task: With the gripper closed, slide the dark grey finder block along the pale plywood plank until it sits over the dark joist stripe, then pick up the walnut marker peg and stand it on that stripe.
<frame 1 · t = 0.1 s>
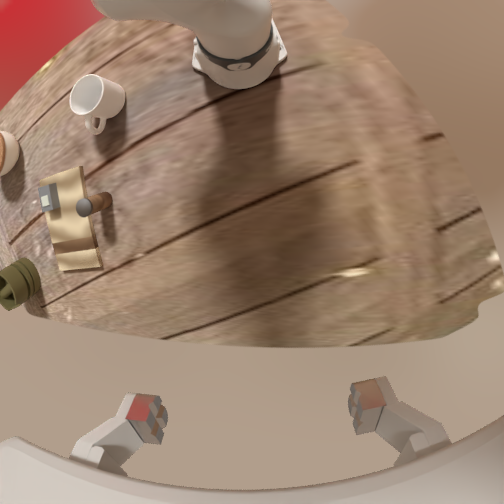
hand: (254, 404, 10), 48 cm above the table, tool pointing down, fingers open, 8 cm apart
finder: (52, 196, 54), point 1 cm above the table, touching plank
marker peg: (105, 199, 56), on the table
lidded bowl: (13, 152, 51), on the table
piston: (28, 275, 63), on the table
mug: (109, 109, 49), on the table
plank: (70, 220, 57), on the table
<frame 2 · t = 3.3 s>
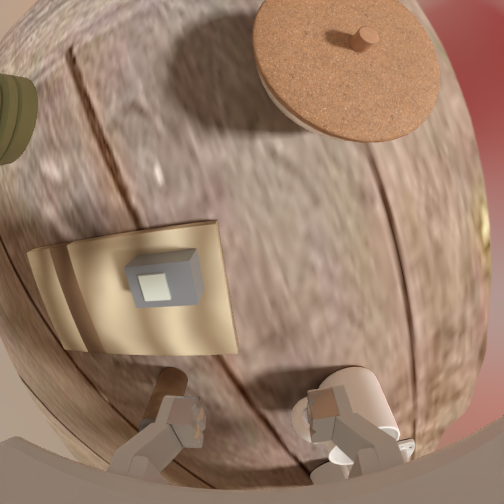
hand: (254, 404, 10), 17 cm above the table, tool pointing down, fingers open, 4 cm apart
finder: (170, 272, 25), point 1 cm above the table, touching plank
marker peg: (174, 377, 32), on the table
lidded bowl: (324, 80, 21), on the table
piston: (11, 120, 21), on the table
mug: (332, 386, 32), on the table
plank: (122, 296, 28), on the table
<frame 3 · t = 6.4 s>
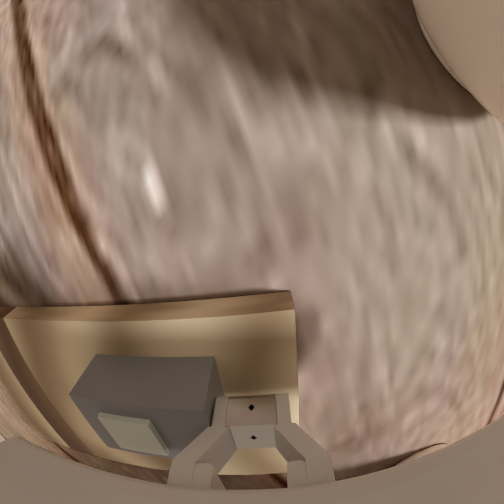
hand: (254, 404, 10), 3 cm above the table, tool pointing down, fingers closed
finder: (162, 387, 12), point 1 cm above the table, touching gripper, plank
lidded bowl: (467, 39, 7), on the table
plank: (106, 398, 15), on the table
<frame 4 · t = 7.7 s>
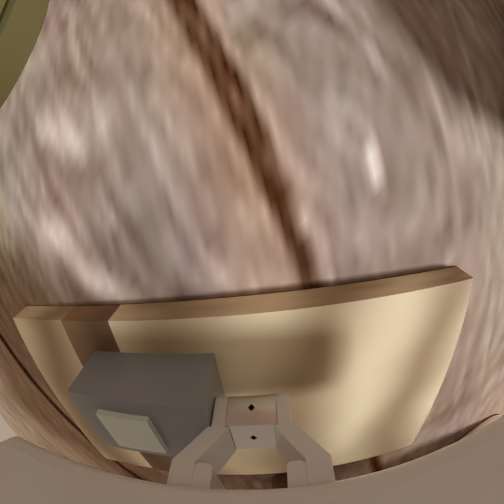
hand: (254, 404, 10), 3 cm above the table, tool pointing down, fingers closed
finder: (161, 384, 12), point 1 cm above the table, touching gripper, plank
marker peg: (292, 478, 18), on the table
plank: (236, 404, 14), on the table
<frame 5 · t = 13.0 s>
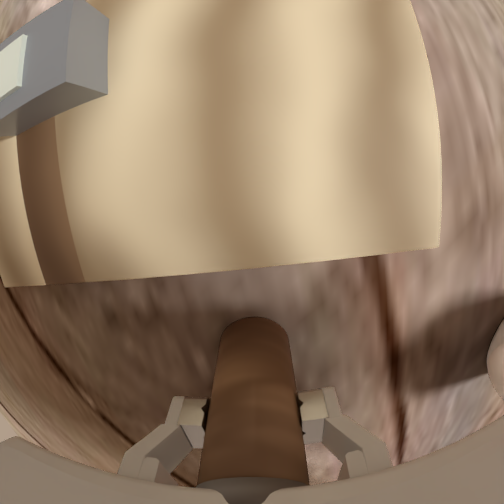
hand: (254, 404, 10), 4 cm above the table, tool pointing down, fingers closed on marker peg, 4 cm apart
finder: (55, 77, 8), point 1 cm above the table, touching plank
marker peg: (254, 345, 14), on the table, touching gripper
mug: (503, 332, 15), on the table
plank: (154, 110, 10), on the table
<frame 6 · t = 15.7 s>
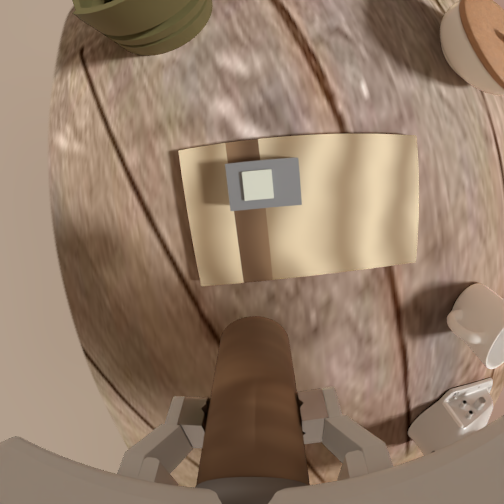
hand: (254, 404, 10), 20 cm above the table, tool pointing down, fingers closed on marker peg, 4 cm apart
finder: (263, 181, 25), point 1 cm above the table, touching plank
marker peg: (254, 344, 14), point 16 cm above the table, touching gripper
lidded bowl: (460, 55, 20), on the table
piston: (162, 14, 21), on the table
mug: (460, 305, 32), on the table
plank: (310, 205, 28), on the table
when the fingers open (7 cm above the table, at t = 18.3 s): marker peg stays where it is, resting on plank.
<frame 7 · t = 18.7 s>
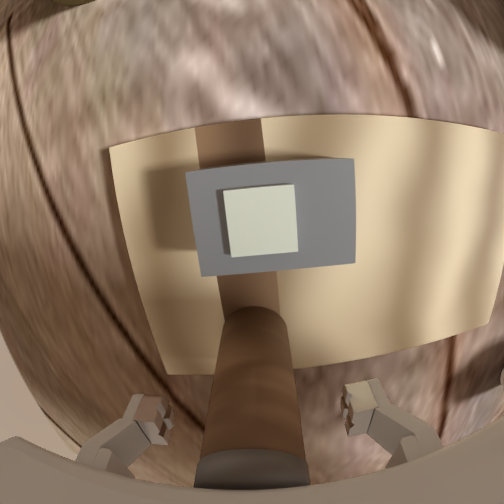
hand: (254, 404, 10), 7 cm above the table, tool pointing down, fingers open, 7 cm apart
finder: (271, 204, 13), point 1 cm above the table, touching plank
marker peg: (254, 333, 15), point 1 cm above the table, touching plank
plank: (354, 246, 15), on the table
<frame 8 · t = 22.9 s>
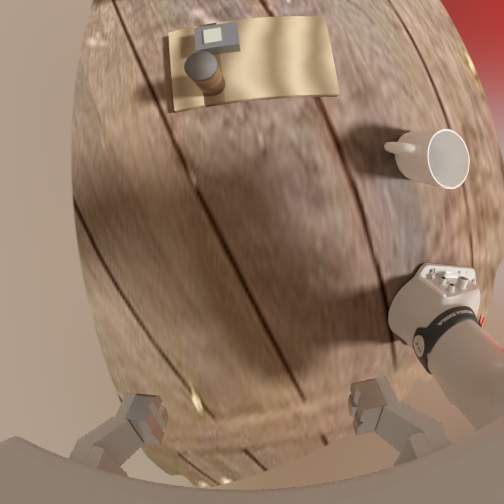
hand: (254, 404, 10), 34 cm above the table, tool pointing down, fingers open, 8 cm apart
finder: (219, 43, 32), point 1 cm above the table, touching plank
marker peg: (212, 84, 35), point 1 cm above the table, touching plank
mug: (403, 153, 38), on the table
plank: (251, 58, 34), on the table
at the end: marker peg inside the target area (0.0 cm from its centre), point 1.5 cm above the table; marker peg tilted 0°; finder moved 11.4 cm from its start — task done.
